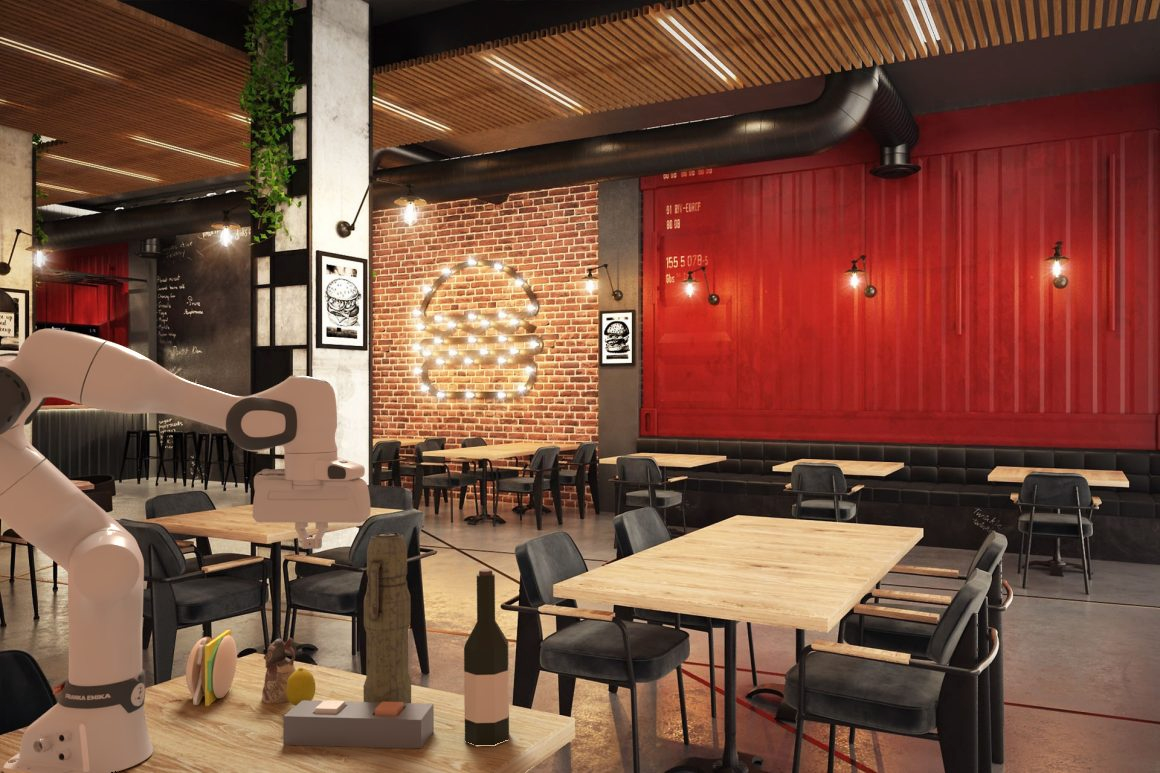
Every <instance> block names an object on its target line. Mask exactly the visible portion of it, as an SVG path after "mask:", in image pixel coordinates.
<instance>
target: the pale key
mask: <svg viewBox="0 0 1160 773" xmlns="http://www.w3.org/2000/svg"><path fill="white" fill-rule="evenodd" d="M322 701H323V702H322V703H321V704H319V705H318V706H317V707H316V708H315V714H339V713H340V712H341V711H342V710H343V709H344V708H345V702H346V701H345V700H322Z"/></svg>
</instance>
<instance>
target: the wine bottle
mask: <svg viewBox="0 0 1160 773" xmlns="http://www.w3.org/2000/svg"><path fill="white" fill-rule="evenodd" d="M495 577H496V574H495V573H493V569H492V568H481V569H479V570H478V573H477V574H476V623H475V625H474V627H473V628H472V630H471V632H470V634H469V636H468V638H467V639H466V641H465V644H464V646H463V661H464V662H463V676H464V677H463V679H464V680H463V682H464V683H463V684H464V685H463V686H464V691H463V694H464V742H465V741H466V742H469V743H472V744H474V745H495V744H497V743H500V742H503V741H505V740H508V739H510V687H509V685H510V680H509V679H510V678H509V676H510V675H509V674H510V673H509V671H510V670H509V669H510V668H509V663H510V661H509V640H508V639H507V637H506V636H505V634H504V632H503V630H502V629H501V627H500V626H499V624H498V623H497V621H496V587H495V586H496V578H495Z"/></svg>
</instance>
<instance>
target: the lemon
mask: <svg viewBox="0 0 1160 773" xmlns="http://www.w3.org/2000/svg"><path fill="white" fill-rule="evenodd" d="M295 670H296V669H295ZM315 694H316V681H315V678H314V675H313V674H312V672H310V671H309V670H307V669H304V668H303V667H299V668H298V669H297V670H296V671H295V672H293V673H292V674H291V675H290V677H289V678H288V681H287V686H286V695H287V698H288V700H289V701H288V702H289V703H290V704H291V705H293V706H294V707H295V706H296V705H297V704H299V703H300V702H301V701H302V700H305V701H313V699H314V697H315Z"/></svg>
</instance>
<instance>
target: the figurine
mask: <svg viewBox="0 0 1160 773" xmlns="http://www.w3.org/2000/svg"><path fill="white" fill-rule="evenodd" d="M294 641H295V640H294V639H293V638H292V637H289V638H288V639H287V640H286V641H284V640H283V639H282V638H277V639H275V640H274V641H273V642H272V643H271V644H270V645H269V646H268V648H267V652H266V654H264V656H263V660H264V661H265V669H266V672H265V677H264V685H263V689H262V692H261V693H262V695H261V701H263V702H264V703H266V704H282V703H286V702H289V700H288V698H287V695H286V686H287V681H288V678H289V677H290V675H291V674H292V673H293V672H295V671H296V667H295V665H294V662H295V659H296V653H295V649H294V648H293V647H292V646H291V645H292V644H293V643H294ZM287 654H290V655H291V659H290V658H288V657H287Z"/></svg>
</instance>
